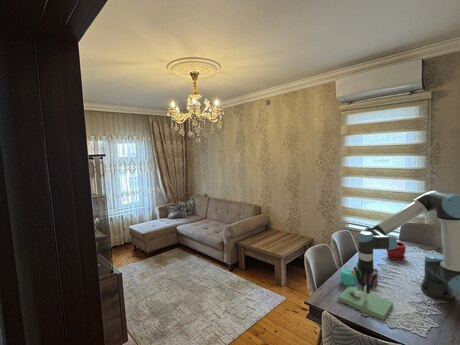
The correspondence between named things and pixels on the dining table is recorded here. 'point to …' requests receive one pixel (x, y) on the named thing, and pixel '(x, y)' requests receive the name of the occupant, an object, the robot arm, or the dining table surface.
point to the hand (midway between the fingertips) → (365, 297)
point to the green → (366, 302)
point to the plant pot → (397, 252)
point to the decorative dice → (347, 277)
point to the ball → (357, 293)
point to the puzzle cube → (370, 274)
